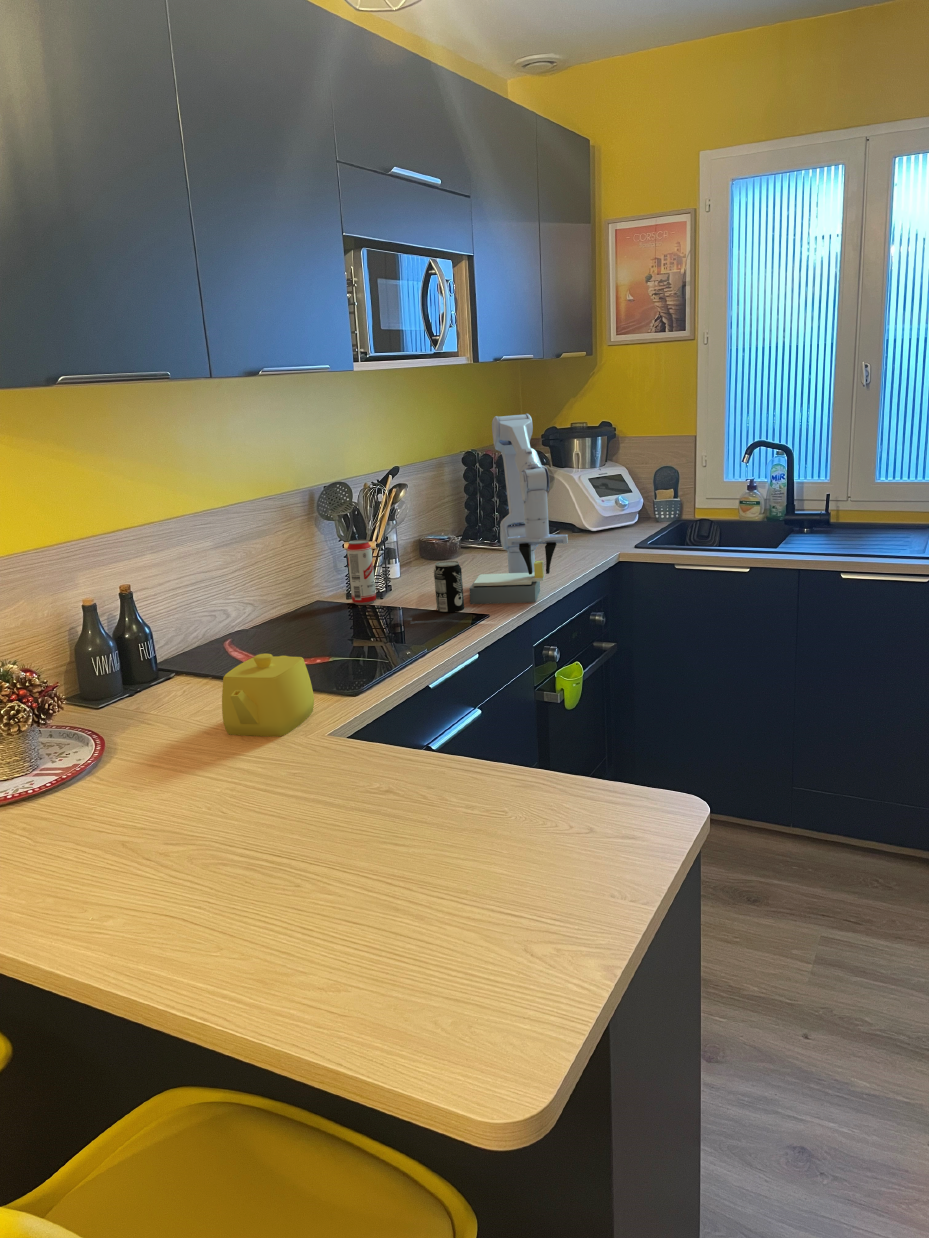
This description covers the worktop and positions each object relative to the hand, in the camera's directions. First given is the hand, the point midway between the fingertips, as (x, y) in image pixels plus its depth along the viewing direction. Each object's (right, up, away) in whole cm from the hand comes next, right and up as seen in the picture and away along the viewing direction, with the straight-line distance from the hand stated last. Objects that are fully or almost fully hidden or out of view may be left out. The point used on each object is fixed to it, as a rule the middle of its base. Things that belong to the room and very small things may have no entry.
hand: (539, 573), depth 223 cm
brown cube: (-6, -6, 0) cm, 8 cm away
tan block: (-11, -5, +6) cm, 13 cm away
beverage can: (-22, -10, -5) cm, 24 cm away
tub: (-8, -6, +3) cm, 11 cm away
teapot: (-51, -29, -71) cm, 92 cm away
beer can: (-44, -7, +11) cm, 46 cm away
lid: (-7, -2, +2) cm, 7 cm away
